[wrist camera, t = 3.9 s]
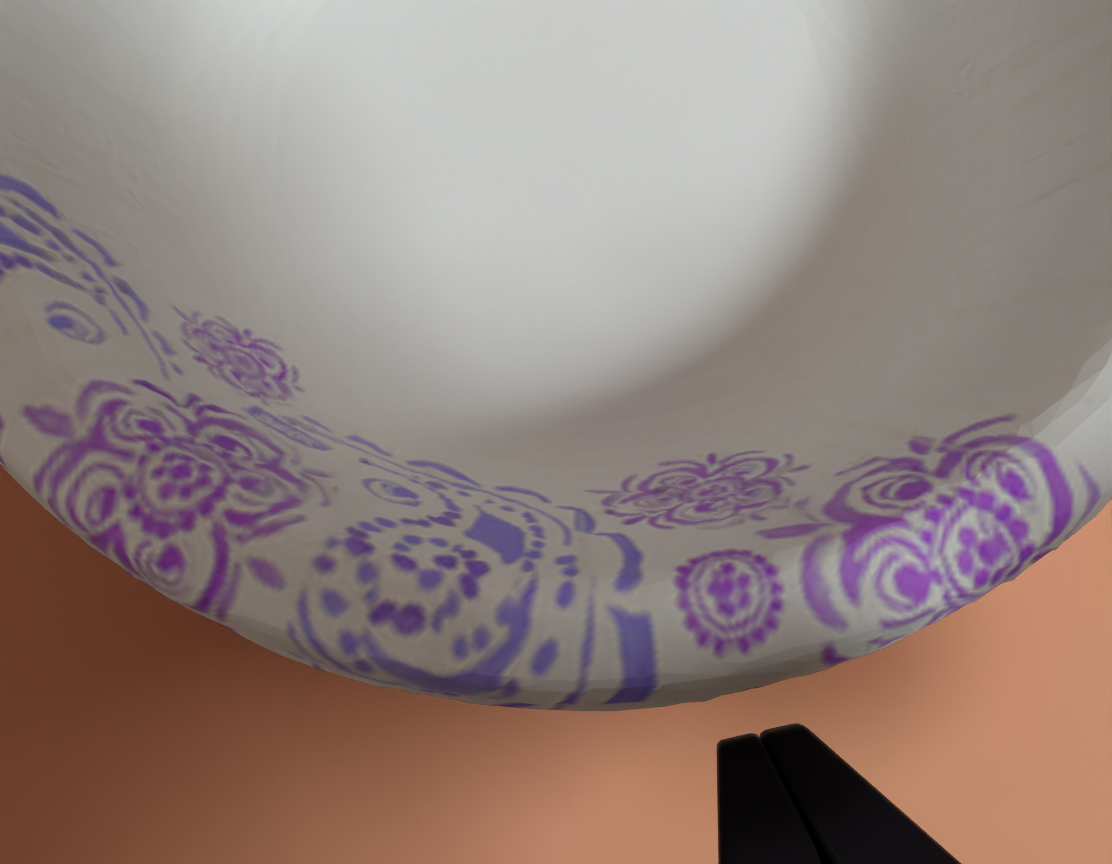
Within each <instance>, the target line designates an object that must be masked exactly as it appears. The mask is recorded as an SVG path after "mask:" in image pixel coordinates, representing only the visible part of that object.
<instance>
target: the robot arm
mask: <svg viewBox="0 0 1112 864" xmlns="http://www.w3.org/2000/svg"><path fill="white" fill-rule="evenodd" d="M717 803H718V864H961V863H960V862H959V861H958V860H957V859H955V858H954V857H953V856H952V855H951V854H950V853H949V852H948V851H946V850H945V849H944V848H943V847H942V846H941V845H940V844H938V843H937V842H936V841H935V840H934V839H933V838H932V837H930V836H929V835H928V834H927V833H926V832H925V831H924V830H923V829H921V828H920V827H919V826H918V825H917V824H916V823H915V822H913V821H912V820H911V819H910V818H909V817H908V816H907V815H906V814H904V813H903V812H902V811H901V810H900V809H899V808H898V807H896V806H895V805H894V804H893V803H892V802H891V801H890V800H888V799H887V798H886V797H885V796H884V795H883V794H882V793H881V792H879V791H878V790H877V789H876V788H875V787H874V786H873V785H871V784H870V783H869V782H868V781H867V780H866V779H865V778H863V777H862V776H861V775H860V774H859V773H858V772H857V771H856V770H854V769H853V768H852V767H851V766H850V765H849V764H848V763H846V762H845V761H844V760H843V759H842V758H841V757H840V756H839V755H837V754H836V753H835V752H834V751H833V750H832V749H831V748H829V747H828V746H827V745H826V744H825V743H824V742H823V741H821V740H820V739H819V738H818V737H817V736H816V735H815V734H814V733H812V732H811V731H810V730H809V729H808V728H806V727H805V726H803V725H800V724H789V725H785V726H780V727H776V728H771V729H767V730H764V731H762V732H761V734H760V736H758V735H756V734H752V733H749V734H745V735H740V736H736V737H732V738H727V739H723V740H720V741H719V742H718V744H717Z"/></svg>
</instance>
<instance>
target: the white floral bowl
mask: <svg viewBox="0 0 1112 864" xmlns="http://www.w3.org/2000/svg"><path fill="white" fill-rule="evenodd" d="M0 464H1V465H2V466H3V468H4V469H5V470H6V471H7V472H8V473H9V474H10V475H11V476H12V477H13V478H14V479H15V480H16V481H17V482H18V483H19V484H20V485H21V486H22V487H23V488H24V489H25V490H26V491H27V492H28V493H29V494H30V495H31V496H32V497H33V498H34V499H35V500H36V501H37V502H39V503H40V504H41V505H42V506H43V507H44V508H45V509H46V510H47V511H48V512H49V513H51V514H52V515H53V516H54V517H55V518H56V519H58V520H59V521H60V522H61V523H62V524H64V525H65V526H67V527H68V528H69V529H70V530H72V531H73V532H74V533H75V534H76V535H78V536H79V537H80V538H81V539H82V540H84V541H85V542H86V543H87V544H88V545H89V546H91V547H92V548H94V549H95V550H97V551H98V552H100V553H101V554H103V555H104V556H105V557H107V558H108V559H110V560H111V561H113V562H114V563H116V564H117V565H119V566H120V567H122V568H123V569H124V570H125V572H127V573H128V574H130V575H131V576H133V577H135V578H136V579H138V580H140V581H141V582H143V583H145V584H146V585H148V586H150V587H151V588H153V589H154V590H156V591H158V592H159V593H161V594H163V595H164V596H166V597H167V598H169V599H171V600H172V601H174V602H175V603H177V604H179V605H181V606H183V607H185V608H187V609H190V610H192V611H194V612H196V613H198V614H200V615H202V616H204V617H206V618H208V619H210V620H211V621H214V622H216V623H218V624H220V625H222V626H224V627H226V628H227V629H229V630H231V631H233V632H235V633H237V634H239V635H241V636H243V637H244V638H246V639H248V640H250V641H252V642H254V643H256V644H258V645H260V646H262V647H264V648H266V649H268V650H270V651H273V652H275V653H277V654H279V655H281V656H283V657H286V658H289V659H291V660H294V661H297V662H299V663H302V664H305V665H307V666H310V667H314V668H317V669H320V670H323V671H327V672H330V673H333V674H336V675H339V676H343V677H346V678H349V679H353V680H356V681H360V682H363V683H367V684H370V685H374V686H380V687H387V688H394V689H400V690H404V691H407V692H411V693H416V694H423V695H429V696H436V697H442V698H447V699H453V700H458V701H463V702H469V703H474V704H481V705H493V706H504V707H515V708H530V709H549V710H574V711H618V710H629V709H640V708H651V707H662V706H668V705H674V704H679V703H687V702H701V701H707V700H710V699H713V698H715V697H718V696H721V695H726V694H732V693H735V692H741V691H744V690H748V689H751V688H758V687H762V686H765V685H769V684H771V683H775V682H778V681H782V680H785V679H788V678H793V677H799V676H804V675H809V674H812V673H815V672H819V671H822V670H826V669H828V668H830V667H833V666H835V665H837V664H839V663H842V662H845V661H849V660H852V659H855V658H858V657H861V656H864V655H867V654H869V653H872V652H875V651H877V650H880V649H883V648H885V647H887V646H889V645H891V644H893V643H895V642H897V641H899V640H901V639H903V638H905V637H907V636H909V635H911V634H912V633H914V632H916V631H918V630H920V629H922V628H924V627H925V626H927V625H930V624H932V623H935V622H937V621H939V620H941V619H943V618H944V617H946V616H948V615H949V614H951V613H953V612H955V611H956V610H958V609H960V608H961V607H963V606H965V605H966V604H969V603H973V602H975V601H977V600H978V599H980V598H981V597H982V596H984V595H985V594H987V593H988V592H990V591H991V590H992V589H994V588H995V587H997V586H998V585H1000V584H1002V583H1005V582H1008V581H1011V580H1014V579H1015V578H1016V577H1017V576H1018V575H1019V574H1020V573H1022V572H1023V571H1024V570H1025V569H1027V568H1028V567H1029V566H1031V565H1032V564H1034V563H1035V562H1036V561H1038V560H1039V559H1040V558H1042V557H1043V556H1044V555H1046V554H1047V553H1049V552H1050V551H1053V550H1056V549H1057V548H1058V547H1059V546H1060V545H1061V544H1062V543H1063V542H1064V541H1065V540H1067V539H1068V538H1069V537H1071V536H1072V535H1073V534H1075V533H1076V532H1077V531H1078V530H1080V529H1081V528H1082V527H1083V526H1084V525H1086V524H1087V523H1088V522H1089V521H1090V520H1092V519H1093V518H1094V517H1095V516H1096V515H1097V514H1098V513H1099V512H1100V511H1101V510H1102V509H1103V508H1104V506H1105V505H1106V504H1107V503H1108V502H1109V501H1110V500H1111V499H1112V0H0Z"/></svg>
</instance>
